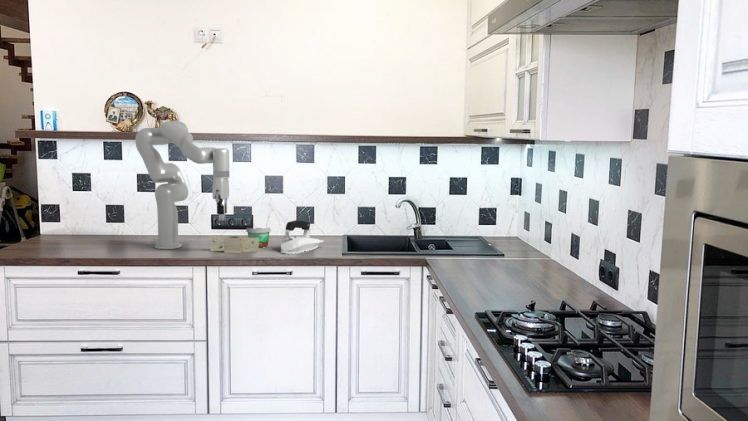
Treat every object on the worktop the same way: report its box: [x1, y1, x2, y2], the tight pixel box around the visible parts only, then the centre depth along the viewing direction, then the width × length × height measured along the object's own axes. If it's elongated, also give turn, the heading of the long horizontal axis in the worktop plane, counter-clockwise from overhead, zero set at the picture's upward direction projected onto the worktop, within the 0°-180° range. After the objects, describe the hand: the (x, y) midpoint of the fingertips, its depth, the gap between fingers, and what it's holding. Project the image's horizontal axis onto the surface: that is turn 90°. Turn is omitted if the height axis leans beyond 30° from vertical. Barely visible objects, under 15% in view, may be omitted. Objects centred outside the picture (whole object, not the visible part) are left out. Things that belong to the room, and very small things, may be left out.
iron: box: [280, 219, 325, 255], centre depth 319 cm, size 11×24×15 cm, turn 146°
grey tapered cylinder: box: [218, 198, 226, 221], centre depth 305 cm, size 4×4×13 cm
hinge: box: [209, 235, 260, 254], centre depth 313 cm, size 24×8×7 cm, turn 85°
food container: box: [245, 226, 272, 249], centre depth 324 cm, size 12×6×10 cm, turn 105°
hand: (221, 213), depth 306 cm, fingers closed on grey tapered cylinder, 3 cm apart
